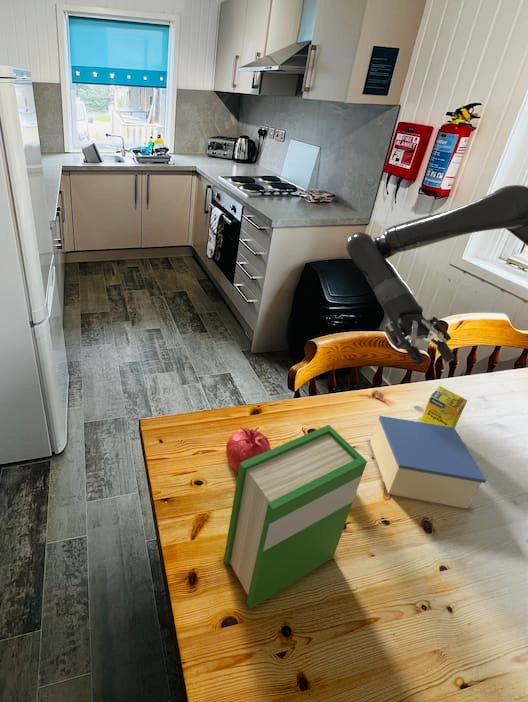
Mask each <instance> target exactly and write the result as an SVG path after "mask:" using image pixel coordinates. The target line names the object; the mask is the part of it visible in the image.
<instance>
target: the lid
mask: <svg viewBox="0 0 528 702" xmlns="http://www.w3.org/2000/svg"><path fill="white" fill-rule="evenodd" d="M378 419H379V420H380V423H381V425H382V428H383V430H384V433H385V435H386V438H387V440H388V443H389V445H390V448H391V450H392V453H393V455H394V458H395V460H396V463H397V465H398V468H402V469H408V470H413V471H419V472H425V473H430V474H436V475H442V476H447V477H453V478H459V479H464V480H470V481H476V482H481V484H486V482H487V478H486V477H485V475H484V474H483V472H482V471H481V469H480V467H479V466H478V464H477V462H476V461H475V459H474V457H473V455H472V454H471V453H470V451H469V449H468V447H467V446H466V444H465V443H464V441H463V439H462V438H461V436H460V434H459V433H458V431H457V430H456V427H455V428H453V427H447V426H441V425H435V424H428V423H422V422H420V421H415V420H409V419H403V418H398V417H397V418H396V417H390V416H383V415H379V417H378Z"/></svg>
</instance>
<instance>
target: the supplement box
mask: <svg viewBox="0 0 528 702" xmlns="http://www.w3.org/2000/svg"><path fill="white" fill-rule="evenodd" d="M467 403H468V399H466V398H465V397H462V396H460V395H459V394H457V393H454V392H452V391H450V390H449V389H446V388H445V387H443V386H441V385H439V386H438V387H437V389H436V390H435V391H433V392H432V394H431V395H430V396H429V398H428V401H427V403H426V406H425V407H424V410H423V413H422V415H421V418H420V420H419V422H422V423H428V424H435V425H441V426H447V427H453V428H455V429H456V426H457V425H458V422H459V419H460V417H461V415H462V413H463V411H464V409H465V407H466V404H467Z"/></svg>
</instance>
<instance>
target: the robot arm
mask: <svg viewBox="0 0 528 702" xmlns="http://www.w3.org/2000/svg"><path fill="white" fill-rule="evenodd" d="M503 229H505V230H506V231H508V232H509V233H511V234H512V235H513V236H514V237H516V238H517V239H518V240H520V241H521V242H522V243H523V244H525V245H526V246H527V247H528V186H527V185H522V184H512V185H511V184H510V185H506V186H503V187H500V188H498V189H497V190H495V191H493V192H492V193H490V194H488V195H486V196H484V197H481V198H479V199H476V200H475V201H472V202H470V203H467V204H465V205H462V206H459V207H455V208H453V209H450V210H447V211H442V212H439V213H435V214H431V215H427V216H422V217H419V218H415V219H412V220H408V221H405V222H401V223H397V224H395V225H391V226H390V227H387V228H386V229H385V231H384V234H382V235H380V236H376V237H372V235H370V234H369V233H366V232H364V231H363V232H361V231H359V232H354V233H351V234H350V236H348V238H347V240H346V242H345V247H346V252H347V254H348V256H349V257H350V258H351V260H352V261H353V262H354V264H355V265H356V266H357V267H358V269H359V270H360V271H361V273H362V274H363V275H364V277H365V279H366V281H367V283H368V284H369V286H370V287H371V289H372V291H373V292H374V295H375V297H376V299H377V301H378V303H379V304H380V306H381V308H382V310H383V311H384V313H385V315H386V316H387V318H388V320H389V322H388V324H386V325H385V326H384V329H386V332H387V333H388V336H389V337H390V339H391V341H392V343H393V345H394V346H395V348H396V349H397V350H400V349H402V350H403V351H405V352H407V354H408V355H409V357H410V359H411V361H412V362H413V364H415V366H416V367H420V366H423V365H425V364H426V363H427V362H426V361H427V360H426V359H425V357H424V356H423V354H422V352H421V351H420V349H419V348H418V346H416V340H424V341H425V342H430V344H432V345H434V346H435V347H436V350H437V351H438V353H439V354H440V356H441V358H442V359H443V361H444V362H445V363H450V362H452V361H454V360H455V359H456V358H455V355H454V353H453V351H452V349H451V348H450V346H449V345H448V343H447V342H449V341H450V340H451V339H452V336H451V335H450V334H449V333H448V331H447V330H446V328H445V327H444V326H443V325H442V323H441V321H440V320H439V319H438V318H437V317H436V316H433V317H431V318H429V319H428V318H426V317H425V316H424V315H423V311H424V308H423V306H422V305H421V303H420V302H419V300H418V299H417V298H416V296H415V295H414V293H413V291H412V290H411V288H410V287H409V286H408V284H407V283H406V282H405V280H404V279H403V278H402V277H401V276H400V275H399V274H400V273H398V271H397V269H396V268H395V267H394V265H393V264H392V263H391V262H390V261H388V259H389V258H391V257H393V256H395V255H397V254H399V253H403V252H408V251H411V250H415V249H420V248H423V247H427V246H430V245H433V244H436V243H437V244H438V243H440V242H442V241H446V240H450V239H452V238H453V239H454V238H457V237H460V236H464V235H469V234H473V233H479V232H486V231H493V230H503ZM440 333H441V334H442V335H441V334H440Z"/></svg>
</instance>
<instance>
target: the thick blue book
mask: <svg viewBox="0 0 528 702" xmlns="http://www.w3.org/2000/svg"><path fill="white" fill-rule="evenodd" d="M370 446H371V449H372V452H373V454H374V457H375V461H376V463H377V466H378V468H379V472H380V475H381V477H382V480H383V483H384V486H385V489H386V491H387V494H388V495H392V496H398V497H404V498H408V499H413V500H414V499H415V500H420V501H425V502H431V503H434V504H435V503H436V504H441V505H446V506H450V507H451V506H452V507H457V508H461V509H467V510H468V509H469V507H470V505H471V503H472V502H473V499H474V498H475V496H476V494H477V492H478V490H479V488H480V486H481V484H482V483H481V482H476V481H470V480H464V479H459V478H453V477H447V476H442V475H436V474H430V473H425V472H419V471H413V470H408V469H402V468H398V465H397V463H396V460H395V458H394V455H393V453H392V450H391V448H390V445H389V443H388V440H387V438H386V435H385V433H384V430H383V428H382V425H381V423H380V420H379V418H378V420H377V422H376V426H375V428H374V431H373V433H372V437H371V440H370Z"/></svg>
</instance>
